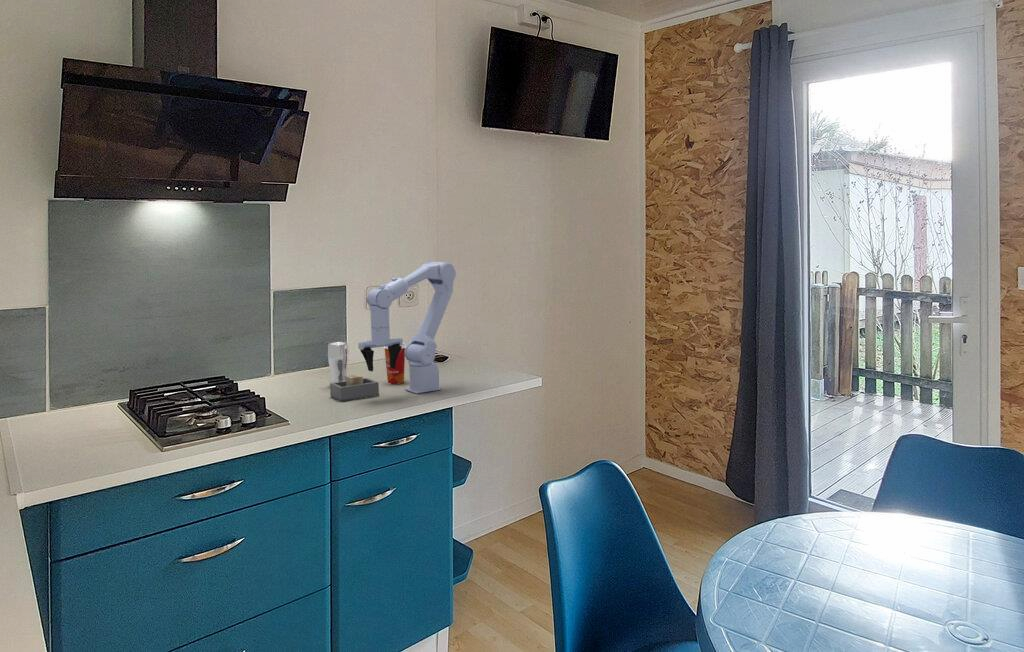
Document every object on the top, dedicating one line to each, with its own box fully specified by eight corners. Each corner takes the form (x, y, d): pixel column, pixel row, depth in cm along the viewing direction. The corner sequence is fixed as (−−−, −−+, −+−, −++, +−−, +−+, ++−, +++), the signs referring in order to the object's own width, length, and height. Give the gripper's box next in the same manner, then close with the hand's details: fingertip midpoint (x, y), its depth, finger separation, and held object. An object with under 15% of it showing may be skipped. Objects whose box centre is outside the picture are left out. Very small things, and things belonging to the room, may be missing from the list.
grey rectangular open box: (367, 390, 230) (367, 377, 229) (378, 395, 223) (378, 382, 222) (330, 396, 222) (329, 383, 221) (341, 401, 215) (340, 387, 215)
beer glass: (325, 387, 235) (323, 344, 233) (337, 383, 242) (335, 341, 240) (341, 389, 233) (340, 345, 231) (354, 384, 239) (352, 342, 237)
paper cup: (380, 382, 242) (379, 343, 241) (399, 379, 248) (397, 340, 246) (392, 386, 237) (391, 346, 235) (411, 382, 242) (410, 343, 240)
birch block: (358, 392, 225) (357, 374, 224) (363, 394, 222) (362, 376, 221) (346, 394, 223) (345, 376, 222) (351, 396, 219) (351, 378, 219)
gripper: (395, 323, 224) (396, 364, 226) (353, 327, 215) (355, 370, 217) (405, 326, 218) (406, 367, 220) (363, 330, 210) (364, 373, 212)
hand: (381, 369), depth 218 cm, fingers open, 7 cm apart
